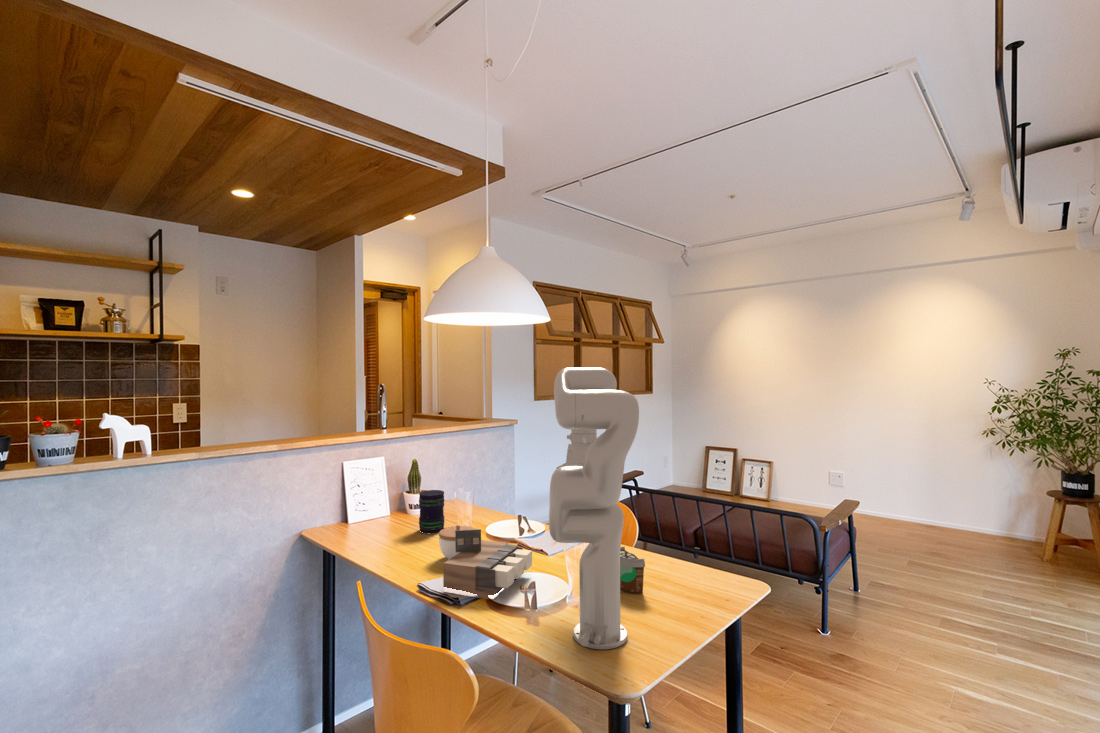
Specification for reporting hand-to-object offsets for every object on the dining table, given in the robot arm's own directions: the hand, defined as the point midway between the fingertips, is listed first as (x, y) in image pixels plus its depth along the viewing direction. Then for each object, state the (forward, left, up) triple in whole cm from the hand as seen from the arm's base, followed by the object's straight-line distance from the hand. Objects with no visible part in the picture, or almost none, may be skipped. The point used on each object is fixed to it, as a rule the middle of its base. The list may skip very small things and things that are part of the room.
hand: (584, 497), depth 154 cm
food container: (0, -12, -25) cm, 28 cm away
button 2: (-1, +20, -22) cm, 30 cm away
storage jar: (+32, +72, -25) cm, 83 cm away
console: (-8, +29, -25) cm, 39 cm away
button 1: (-15, +20, -22) cm, 33 cm away
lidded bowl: (+7, +46, -25) cm, 53 cm away
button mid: (-8, +20, -22) cm, 31 cm away
